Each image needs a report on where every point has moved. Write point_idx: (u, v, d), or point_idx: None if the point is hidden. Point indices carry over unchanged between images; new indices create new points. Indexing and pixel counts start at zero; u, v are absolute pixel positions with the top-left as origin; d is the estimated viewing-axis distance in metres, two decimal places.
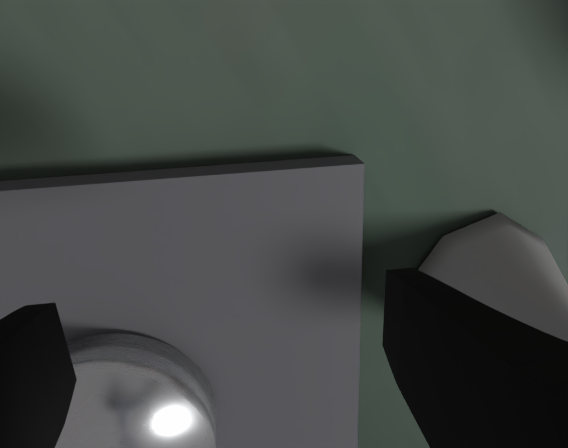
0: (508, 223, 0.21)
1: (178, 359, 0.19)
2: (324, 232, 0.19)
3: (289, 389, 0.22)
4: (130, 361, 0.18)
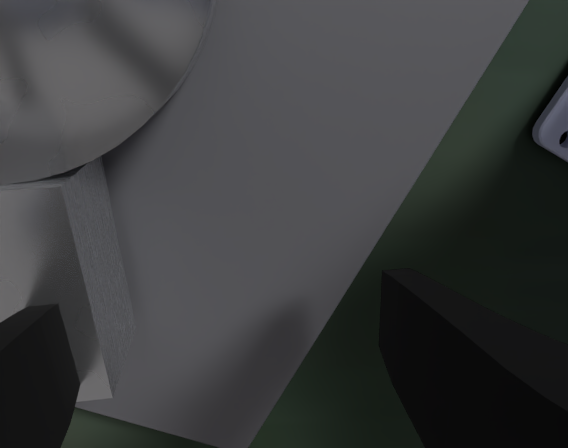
0: None
1: None
2: None
3: None
4: None
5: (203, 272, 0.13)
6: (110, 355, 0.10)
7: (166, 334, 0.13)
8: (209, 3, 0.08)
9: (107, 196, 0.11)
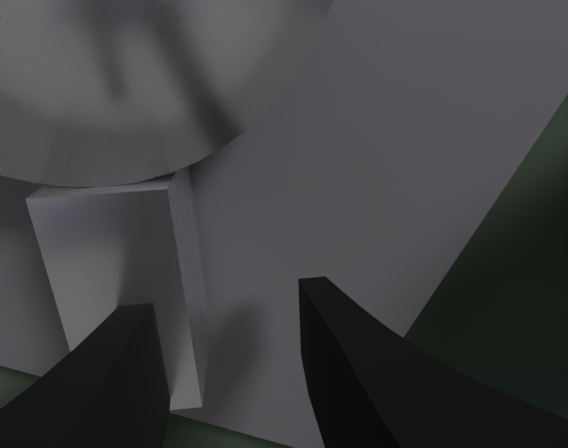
0: None
1: None
2: None
3: None
4: None
5: (290, 270, 0.12)
6: (199, 363, 0.10)
7: (250, 335, 0.13)
8: None
9: (191, 197, 0.11)
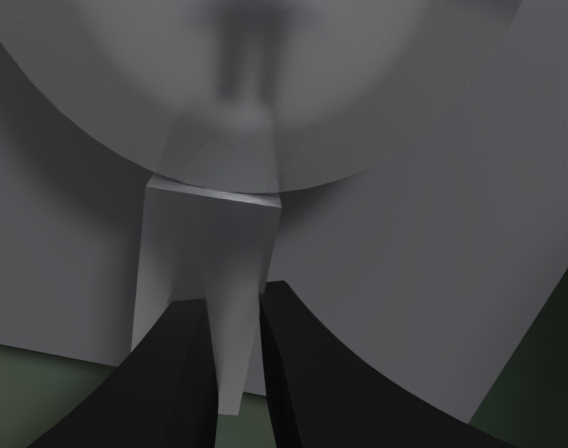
0: None
1: None
2: None
3: None
4: None
5: (432, 254, 0.12)
6: None
7: (392, 322, 0.13)
8: (480, 71, 0.08)
9: None
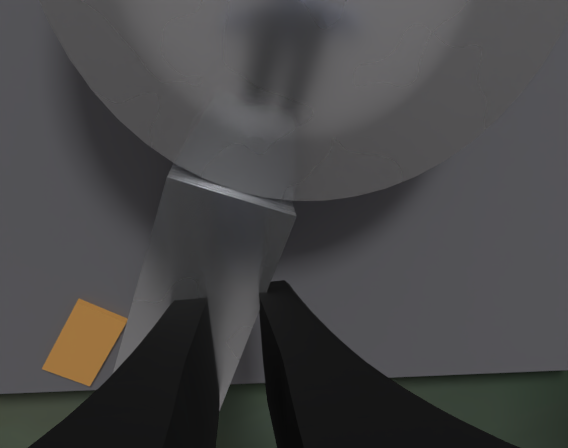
0: None
1: None
2: None
3: None
4: None
5: (541, 200, 0.12)
6: None
7: (515, 276, 0.13)
8: (500, 113, 0.08)
9: None
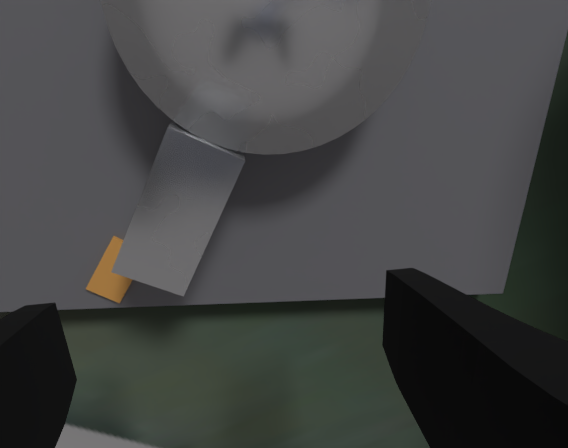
0: None
1: None
2: None
3: None
4: None
5: (437, 164, 0.18)
6: None
7: (424, 220, 0.18)
8: (374, 110, 0.14)
9: None
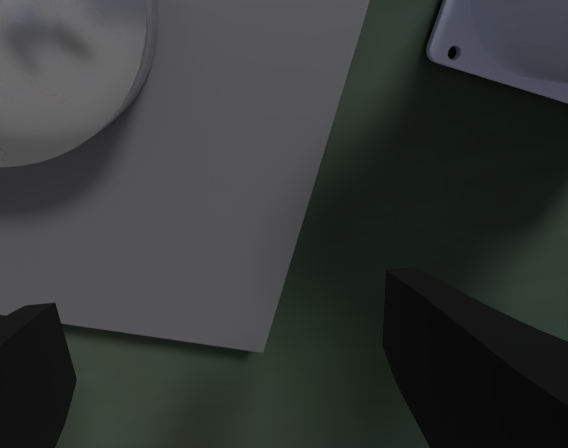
0: None
1: None
2: None
3: None
4: None
5: (197, 211, 0.17)
6: None
7: (181, 264, 0.18)
8: (80, 143, 0.13)
9: None
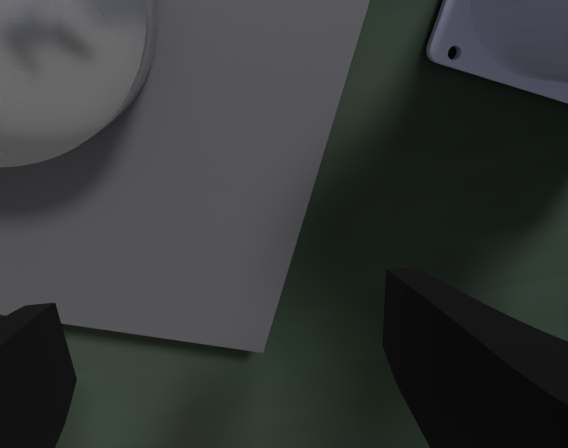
0: None
1: None
2: None
3: None
4: None
5: (197, 211, 0.17)
6: None
7: (181, 264, 0.18)
8: (80, 143, 0.13)
9: None
